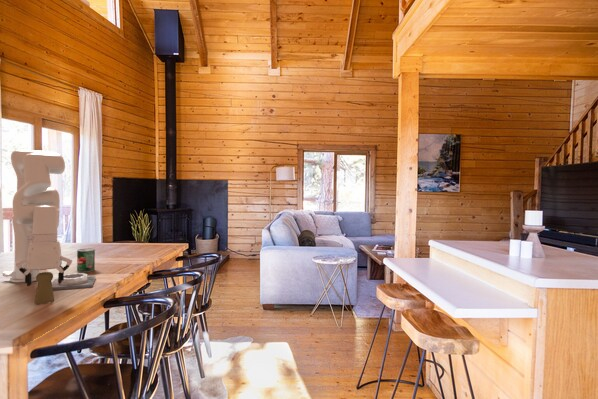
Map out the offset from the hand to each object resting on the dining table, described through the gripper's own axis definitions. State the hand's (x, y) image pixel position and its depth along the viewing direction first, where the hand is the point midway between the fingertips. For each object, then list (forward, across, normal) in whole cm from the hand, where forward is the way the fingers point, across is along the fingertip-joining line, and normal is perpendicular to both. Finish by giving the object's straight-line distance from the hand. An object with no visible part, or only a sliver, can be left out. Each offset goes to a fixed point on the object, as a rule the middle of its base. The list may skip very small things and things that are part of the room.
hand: (44, 283), depth 133 cm
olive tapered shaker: (+7, 0, 0) cm, 7 cm away
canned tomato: (+6, +8, +52) cm, 53 cm away
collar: (+6, +6, +24) cm, 26 cm away
